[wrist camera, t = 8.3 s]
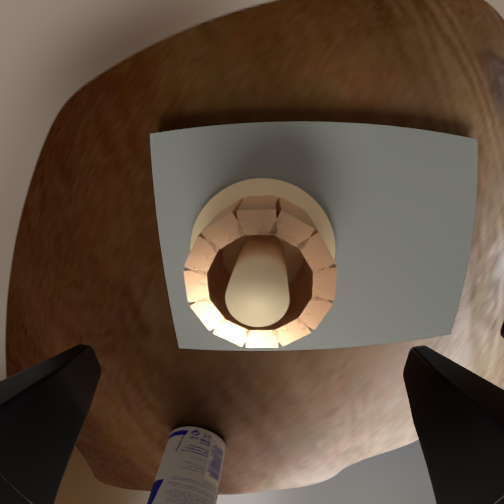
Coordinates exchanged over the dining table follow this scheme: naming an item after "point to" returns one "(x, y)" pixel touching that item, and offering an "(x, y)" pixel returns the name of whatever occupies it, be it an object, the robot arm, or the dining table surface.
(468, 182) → the bobbin board
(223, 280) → the wooden slatted ring
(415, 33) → the dining table surface
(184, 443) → the beverage can
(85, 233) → the dining table surface
